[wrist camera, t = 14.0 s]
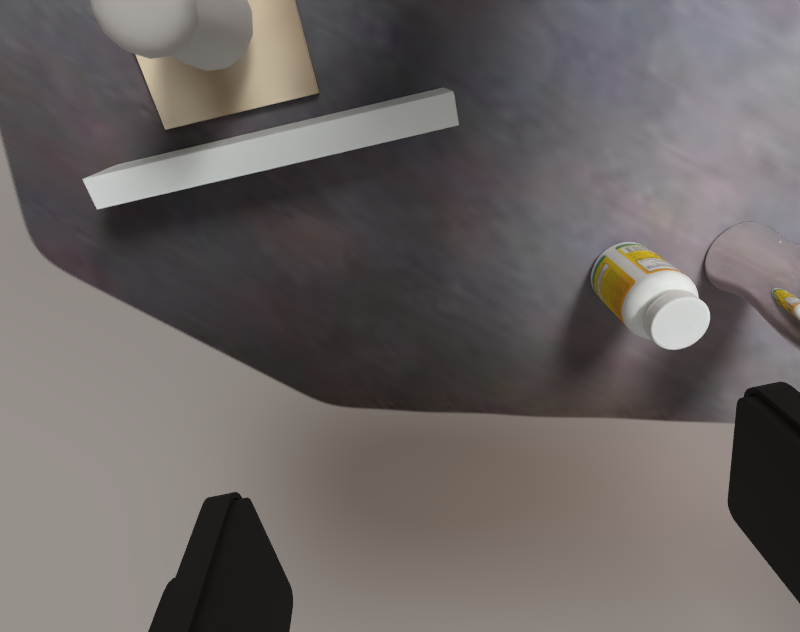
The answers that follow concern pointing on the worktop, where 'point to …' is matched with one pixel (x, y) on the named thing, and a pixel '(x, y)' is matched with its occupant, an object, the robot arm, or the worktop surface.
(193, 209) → the worktop surface
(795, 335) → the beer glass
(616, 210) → the worktop surface
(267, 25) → the coaster board
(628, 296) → the supplement bottle
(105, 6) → the salt shaker
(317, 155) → the acrylic wall
